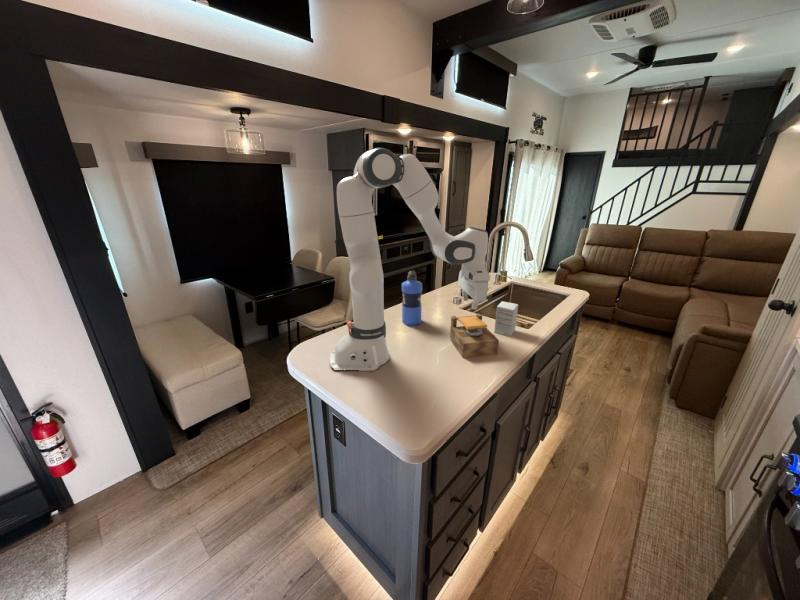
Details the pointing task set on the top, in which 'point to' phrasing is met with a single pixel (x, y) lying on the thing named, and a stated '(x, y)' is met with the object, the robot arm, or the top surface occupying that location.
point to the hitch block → (472, 340)
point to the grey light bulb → (474, 332)
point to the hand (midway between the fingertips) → (469, 304)
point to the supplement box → (506, 318)
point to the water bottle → (411, 300)
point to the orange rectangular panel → (471, 322)
